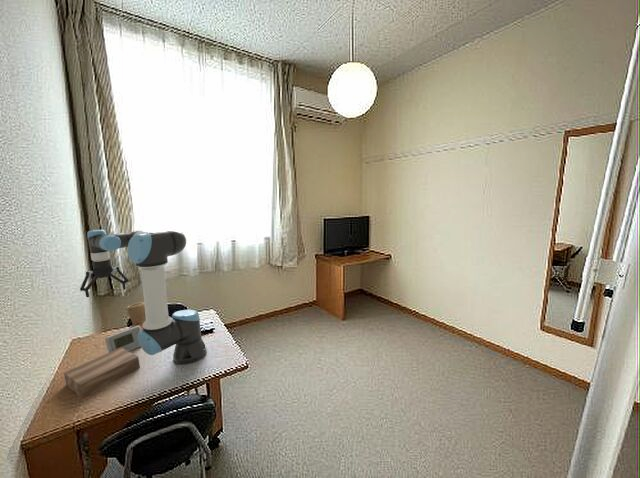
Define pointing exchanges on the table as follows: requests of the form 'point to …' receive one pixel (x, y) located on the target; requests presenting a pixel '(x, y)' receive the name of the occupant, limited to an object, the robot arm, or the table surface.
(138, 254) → the robot arm
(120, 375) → the walnut block
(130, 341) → the digital clock
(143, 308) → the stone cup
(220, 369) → the table surface
